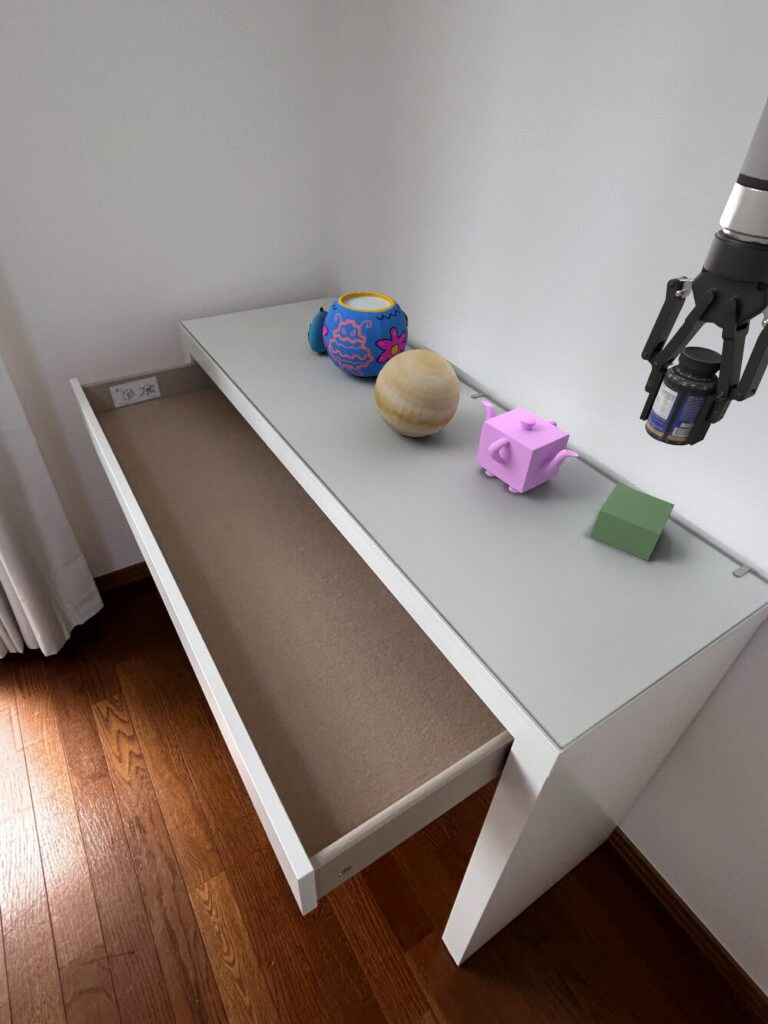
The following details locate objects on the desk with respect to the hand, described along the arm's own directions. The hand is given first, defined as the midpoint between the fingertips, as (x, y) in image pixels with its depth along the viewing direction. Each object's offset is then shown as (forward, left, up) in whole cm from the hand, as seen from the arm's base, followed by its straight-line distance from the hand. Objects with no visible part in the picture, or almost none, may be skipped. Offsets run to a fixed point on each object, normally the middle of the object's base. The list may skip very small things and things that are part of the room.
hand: (670, 428), depth 73 cm
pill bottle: (0, 0, -1) cm, 1 cm away
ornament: (+78, +6, -19) cm, 80 cm away
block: (0, -1, -19) cm, 19 cm away
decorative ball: (+40, +9, -19) cm, 45 cm away
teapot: (+20, +3, -19) cm, 27 cm away
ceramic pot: (+65, +3, -19) cm, 67 cm away
